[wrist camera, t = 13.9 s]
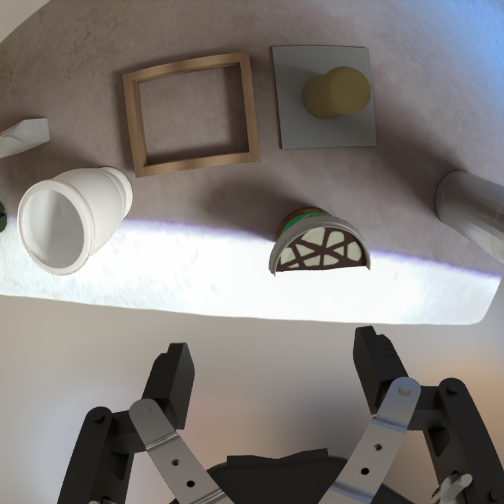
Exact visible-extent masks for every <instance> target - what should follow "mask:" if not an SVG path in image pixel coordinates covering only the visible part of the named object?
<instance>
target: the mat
mask: <svg viewBox="0 0 504 504" xmlns="http://www.w3.org/2000/svg"><path fill="white" fill-rule="evenodd" d="M272 54H273V63H274V72H275V81H276V90H277V100H278V110H279V120H280V131H281V142H282V150H286V149H301V148H321V147H352V146H377V142H376V122H375V107H374V95H373V85H372V75H371V66H370V58H369V51H368V48H357V47H340V46H276V47H272ZM339 66H347V67H352V68H354V69H357V70H358V71H360V72H361V73H362V74H364V76H365V77H366V78H367V80H368V81H369V84H370V87H371V98H370V102H369V103H368V105H367V106H366V107H365V109H363V110H362V111H360V112H359V113H356V114H353V115H343V114H340V115H339V116H337V117H335V118H332V119H320V118H317V117H315V116H313V115H312V114H310V113H309V112H308V111H307V109H306V108H305V107H304V104H303V102H302V90H303V87H304V85H305V84H306V83H307V81H309V80H310V79H311V78H313V77H316V76H320V75H325V74H326V73H327V72H329V71H330V70H332V69H333V68H336V67H339Z"/></svg>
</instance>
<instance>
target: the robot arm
mask: <svg viewBox="0 0 504 504" xmlns="http://www.w3.org/2000/svg"><path fill="white" fill-rule="evenodd" d="M435 206H436V211H437V214H438V216H439V218H440V219H441V221H442V222H444V223H445V224H446V225H448V226H449V227H451V228H453V229H454V230H456V231H457V232H459V233H460V234H462V235H463V236H465V237H466V238H468V239H469V240H471V241H472V242H474V243H475V244H477V245H478V246H479V247H481V248H482V249H484V250H485V251H487V252H488V253H489V254H491V255H492V256H494V257H495V258H496V259H498V260H499V261H501V262H502V263H503V264H504V186H502V185H499V184H497V183H494V182H491V181H489V180H486V179H483V178H480V177H478V176H475V175H472V174H469V173H466V172H463V171H453V172H451V173H449V174H447V175H446V176H445V177H444V178H443V180H442V181H441V182H440V184H439V186H438V189H437V192H436V198H435ZM353 360H354V364H355V367H356V370H357V373H358V376H359V379H360V381H361V385H362V388H363V390H364V394H365V397H366V399H367V403H368V406H369V409H370V412H371V415H373V414H376V416H375V417H373V419H372V420H371V422H370V424H369V426H368V428H367V430H366V431H365V433H364V435H363V437H362V439H361V441H360V442H359V444H358V445H357V447H356V449H355V451H354V452H353V454H352V456H351V457H350V459H347V458H345V457H341V456H338V455H332V454H328V451H327V448H324V449H317V450H310V451H302V452H299V453H296V454H293V455H290V456H287V457H283V458H280V459H272V458H265V457H259V456H253V455H244V456H227V462H224V463H221V464H218V465H216V466H213V467H212V468H209V469H208V470H205V469H204V468H203V467H202V465H201V464H200V463H199V461H198V460H197V459H196V457H195V456H194V455H193V454H192V452H191V451H190V449H189V448H188V447H187V445H186V444H185V442H184V441H183V440H182V438H181V437H180V436H179V434H178V433H176V429H182V430H184V427H185V422H186V417H187V411H188V406H189V401H190V396H191V391H192V386H193V381H194V376H195V370H194V364H193V361H192V358H191V355H190V352H189V348H188V345H187V343H170V346H169V348H168V351H167V353H161V354H160V355H159V356H158V358H157V359H156V360H155V361H154V364H153V367H152V370H151V372H150V376H149V378H148V381H147V384H146V387H145V390H144V392H143V395H142V398H141V400H138V401H136V402H135V403H133V405H132V406H131V407H130V409H129V410H127V411H122V412H116V413H112V412H111V411H110V410H109V409H108V408H106V407H101V406H100V407H96V408H93V409H92V410H90V411H89V412H88V413H87V415H86V417H85V420H84V422H83V425H82V428H81V431H80V434H79V436H78V439H77V442H76V445H75V448H74V450H73V453H72V457H71V459H70V462H69V465H68V469H67V472H66V475H65V478H64V481H63V485H62V488H61V491H60V495H59V498H58V502H57V504H125V500H126V494H127V489H128V483H129V478H130V473H131V468H132V463H133V459H134V454H135V453H138V452H143V451H147V452H148V454H149V456H150V457H151V459H152V461H153V462H154V464H155V466H156V467H157V469H158V471H159V472H160V474H161V476H162V477H163V479H164V480H165V482H166V483H167V485H168V486H169V488H170V490H171V491H172V493H173V494H174V496H175V497H176V498H175V499H174V500H173V501H172V502H171V503H169V504H414V503H413V502H411V501H410V500H408V499H407V498H405V497H403V496H402V495H400V494H399V493H397V492H396V491H394V490H393V489H391V488H390V487H388V486H387V485H386V484H384V483H383V482H382V481H383V479H384V477H385V475H386V473H387V471H388V469H389V467H390V465H391V463H392V461H393V459H394V457H395V455H396V453H397V451H398V449H399V446H400V444H401V442H402V440H403V437H404V435H405V433H406V430H423V433H424V436H425V440H426V443H427V446H428V449H429V452H430V456H431V459H432V462H433V466H434V469H435V473H436V476H437V480H438V484H439V486H438V488H437V489H436V490H435V491H434V492H433V494H432V497H431V504H504V471H503V468H502V465H501V463H500V460H499V458H498V455H497V453H496V450H495V448H494V445H493V443H492V441H491V438H490V436H489V434H488V431H487V429H486V427H485V425H484V423H483V420H482V418H481V416H480V414H479V412H478V410H477V408H476V406H475V404H474V402H473V400H472V398H471V396H470V394H469V392H468V390H467V388H466V386H465V384H464V383H463V382H462V381H461V380H458V379H456V378H447V379H444V380H443V381H441V383H440V384H439V386H421V385H420V384H419V383H418V382H417V381H416V380H415V379H413V378H410V377H409V376H408V374H407V372H406V370H405V368H404V366H403V364H402V362H401V360H400V358H399V356H398V355H397V352H396V350H395V349H394V346H393V344H392V343H391V341H390V340H389V339H388V338H387V337H386V336H384V335H383V334H381V335H376V332H375V331H374V328H373V327H372V326H364V327H358V328H356V330H355V339H354V348H353Z"/></svg>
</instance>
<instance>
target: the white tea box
mask: <svg viewBox="0 0 504 504" xmlns="http://www.w3.org/2000/svg"><path fill="white" fill-rule="evenodd" d="M48 141H50V136H49V129H48V122H47V118H41V119H29V120H23V121H21V122H19V123H17V124H15V125H13V126H11V127H9V128H7V129H6V130H4V131H2V132H0V158H3V157H7V156H11V155H15V154H18V153H22V152H24V151H26V150H29V149H31V148H33V147H36V146H38V145H41V144H43V143H46V142H48Z"/></svg>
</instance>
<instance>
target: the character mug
mask: <svg viewBox="0 0 504 504" xmlns="http://www.w3.org/2000/svg"><path fill="white" fill-rule="evenodd" d="M4 210H5V209H4V207H3V205H2V204H1V203H0V233H1V232H2V231H3V230H4V229H5V227H6V224H7V216H6V215H5V216H2V214H1V212H2V211H4Z"/></svg>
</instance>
